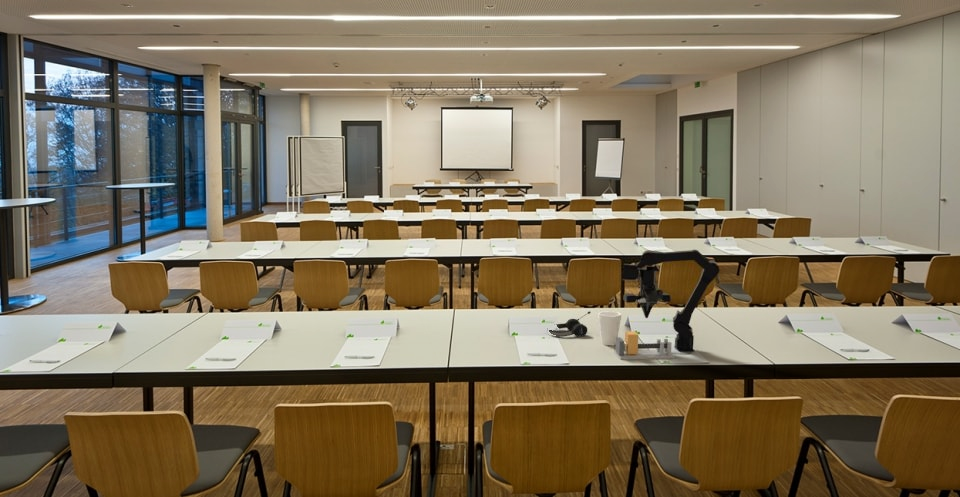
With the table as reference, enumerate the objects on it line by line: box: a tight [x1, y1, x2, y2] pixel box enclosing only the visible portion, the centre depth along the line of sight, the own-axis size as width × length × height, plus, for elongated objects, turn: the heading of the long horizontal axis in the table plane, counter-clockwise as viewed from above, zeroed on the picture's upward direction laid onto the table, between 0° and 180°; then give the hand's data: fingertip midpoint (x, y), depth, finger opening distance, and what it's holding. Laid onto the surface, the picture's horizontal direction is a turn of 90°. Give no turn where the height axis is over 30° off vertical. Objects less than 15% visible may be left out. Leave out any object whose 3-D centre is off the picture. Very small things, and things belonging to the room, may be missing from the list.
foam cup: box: [597, 310, 622, 346], centre depth 307 cm, size 10×9×13 cm
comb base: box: [613, 336, 676, 360], centre depth 291 cm, size 22×10×7 cm, turn 93°
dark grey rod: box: [624, 341, 668, 351], centre depth 290 cm, size 21×3×3 cm, turn 93°
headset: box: [549, 310, 591, 338], centre depth 324 cm, size 14×10×20 cm
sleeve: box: [624, 330, 639, 354], centre depth 290 cm, size 4×5×8 cm
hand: (646, 317), depth 301 cm, fingers closed
